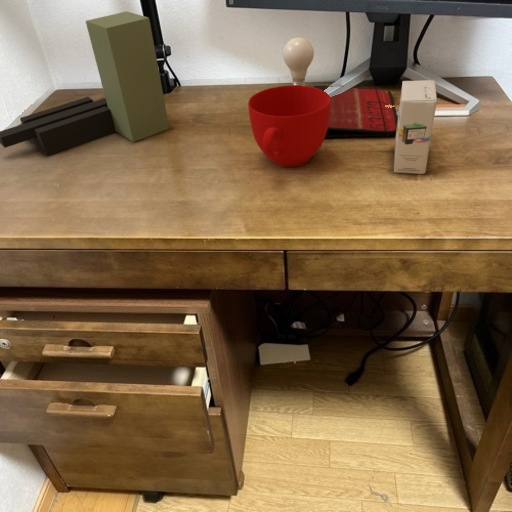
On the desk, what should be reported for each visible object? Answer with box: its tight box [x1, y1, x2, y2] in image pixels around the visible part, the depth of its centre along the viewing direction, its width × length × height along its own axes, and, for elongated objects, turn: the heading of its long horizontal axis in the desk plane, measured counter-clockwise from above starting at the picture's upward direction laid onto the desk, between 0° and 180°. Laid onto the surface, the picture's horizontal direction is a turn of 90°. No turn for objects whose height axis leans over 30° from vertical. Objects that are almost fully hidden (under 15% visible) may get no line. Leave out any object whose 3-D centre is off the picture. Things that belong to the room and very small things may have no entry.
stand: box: [85, 11, 170, 143], centre depth 90 cm, size 8×8×20 cm
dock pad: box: [19, 96, 116, 157], centre depth 95 cm, size 10×14×4 cm
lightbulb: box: [282, 36, 315, 86], centre depth 104 cm, size 6×6×11 cm
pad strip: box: [0, 97, 108, 149], centre depth 94 cm, size 3×24×2 cm, turn 130°
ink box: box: [393, 79, 438, 175], centre depth 76 cm, size 8×5×12 cm, turn 167°
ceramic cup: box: [247, 84, 331, 168], centre depth 79 cm, size 13×17×10 cm
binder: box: [312, 85, 398, 138], centre depth 95 cm, size 16×2×21 cm
